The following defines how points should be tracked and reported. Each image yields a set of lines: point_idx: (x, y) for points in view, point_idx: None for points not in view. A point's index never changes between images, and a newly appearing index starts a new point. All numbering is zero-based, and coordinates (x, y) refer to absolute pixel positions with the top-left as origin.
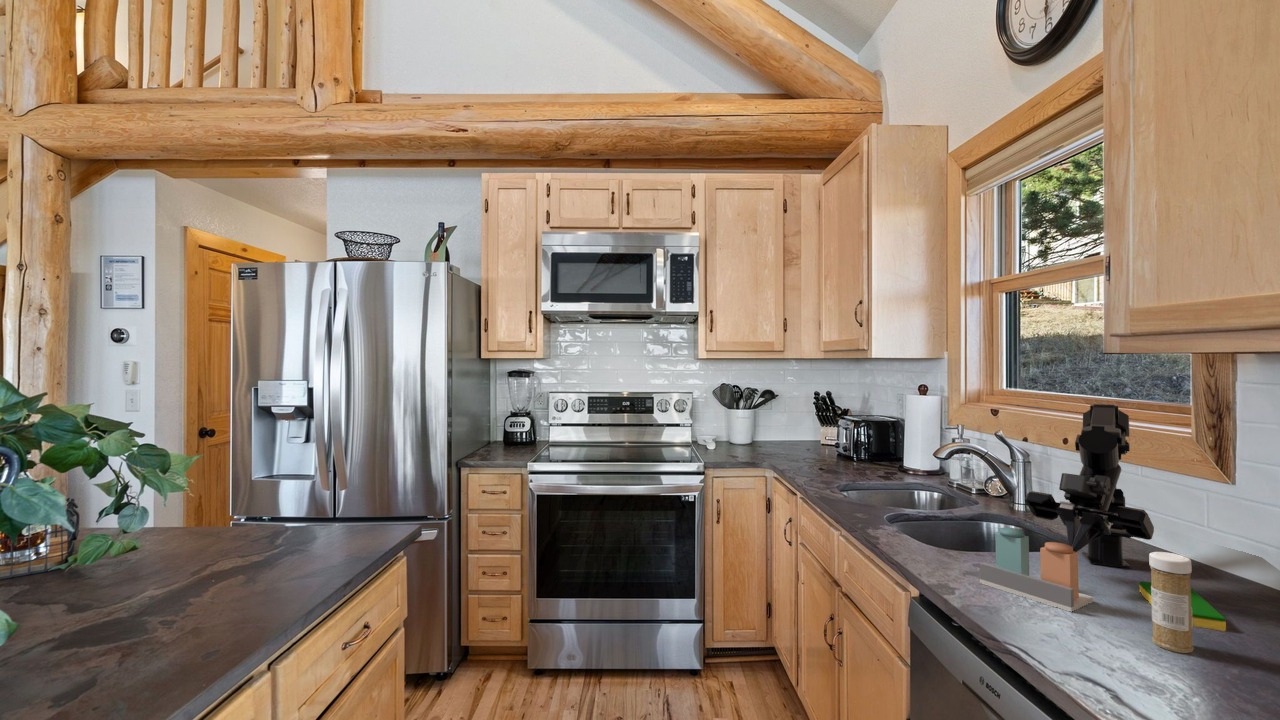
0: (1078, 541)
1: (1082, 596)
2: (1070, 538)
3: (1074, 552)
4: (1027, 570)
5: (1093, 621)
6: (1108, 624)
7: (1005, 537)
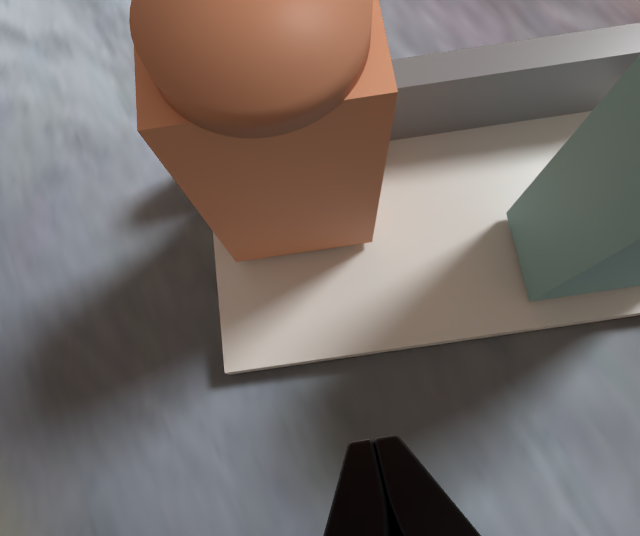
0: (329, 522)
1: (254, 329)
2: (432, 523)
3: (149, 97)
4: (544, 266)
5: (122, 151)
6: (78, 176)
7: None
